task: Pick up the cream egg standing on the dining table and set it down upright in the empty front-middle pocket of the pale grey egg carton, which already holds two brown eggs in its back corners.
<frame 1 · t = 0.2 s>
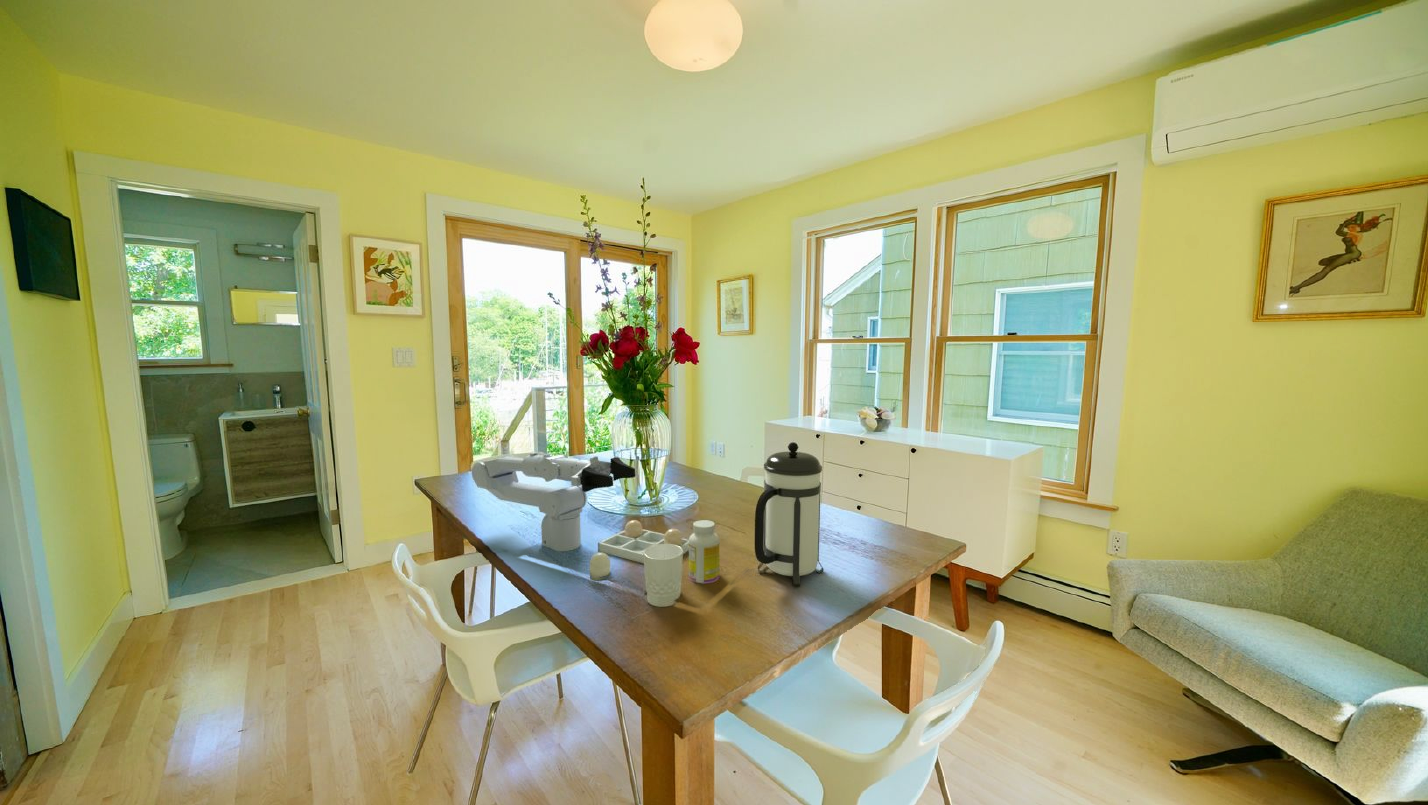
hand: (623, 477, 111), 21 cm above the table, tool horizontal, fingers open, 7 cm apart
brown egg back left: (633, 540, 126), point 1 cm above the table, touching egg carton
white cup: (663, 599, 98), on the table
supplement bottle: (704, 581, 106), on the table
cream egg: (600, 576, 108), on the table
brown egg back right: (673, 550, 120), point 1 cm above the table, touching egg carton
egg carton: (645, 553, 120), on the table
coffee press: (788, 575, 109), on the table
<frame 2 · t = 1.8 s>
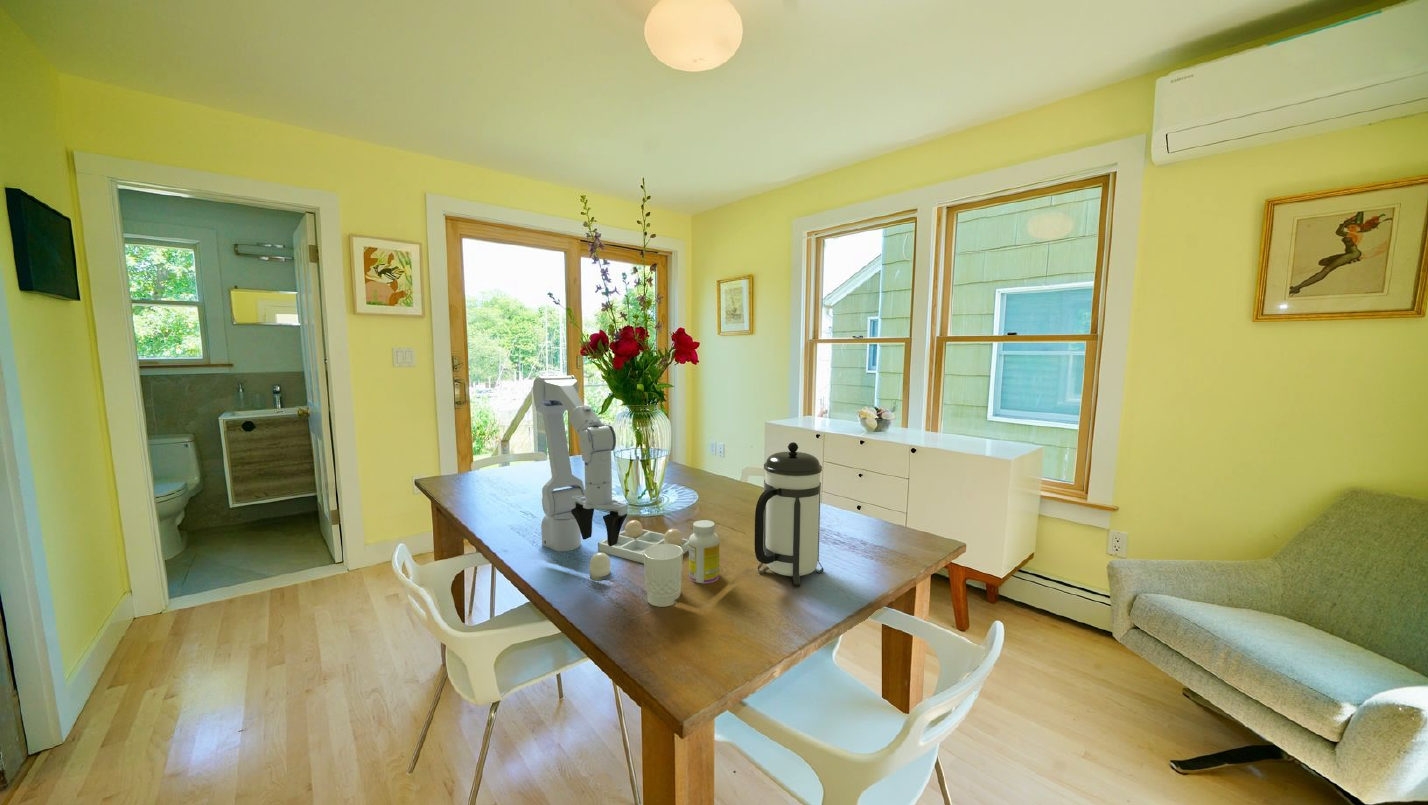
hand: (599, 541, 107), 8 cm above the table, tool pointing down, fingers open, 7 cm apart
nothing on the table moved.
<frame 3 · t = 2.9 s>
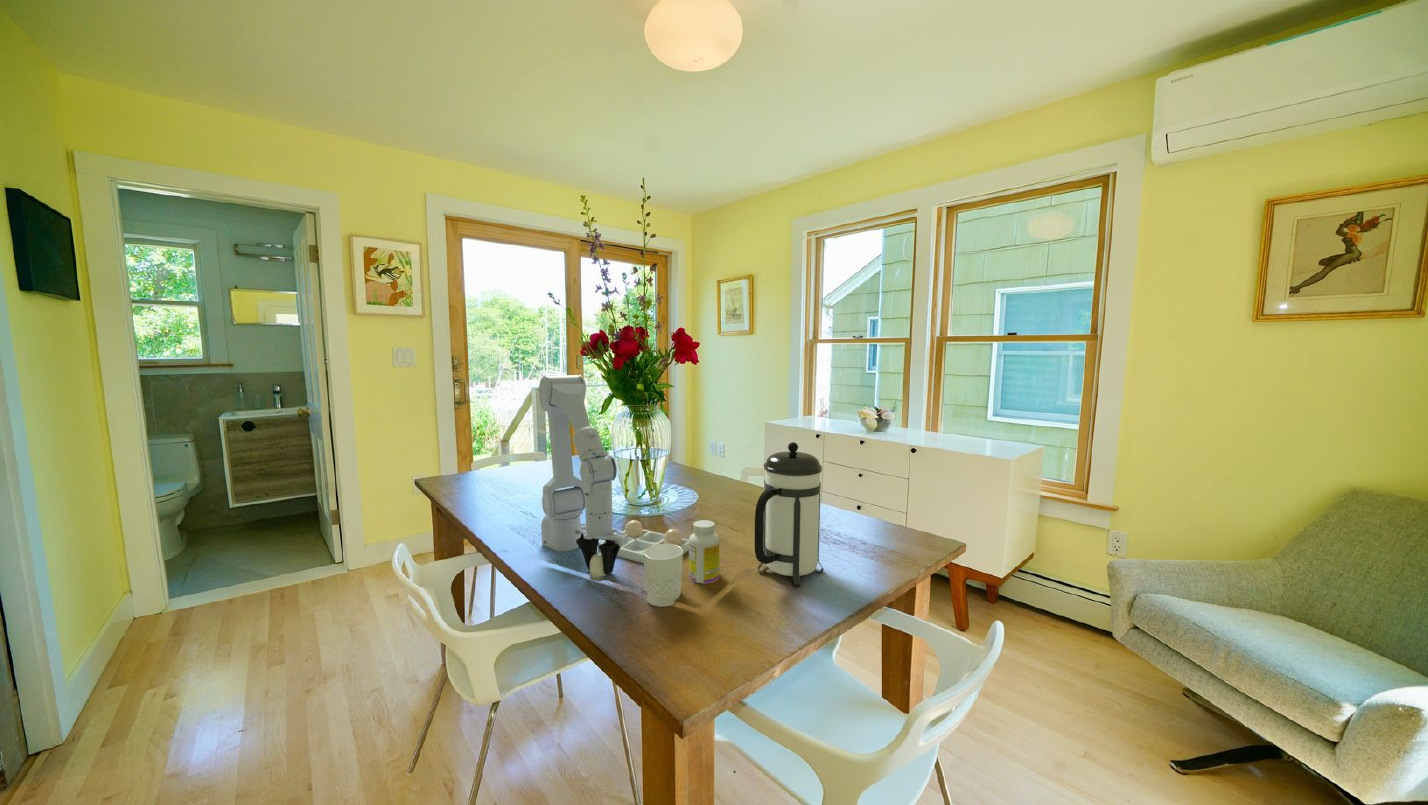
hand: (600, 570, 108), 1 cm above the table, tool pointing down, fingers closed on cream egg, 4 cm apart
cream egg: (600, 576, 108), on the table, touching gripper
everything else where it was.
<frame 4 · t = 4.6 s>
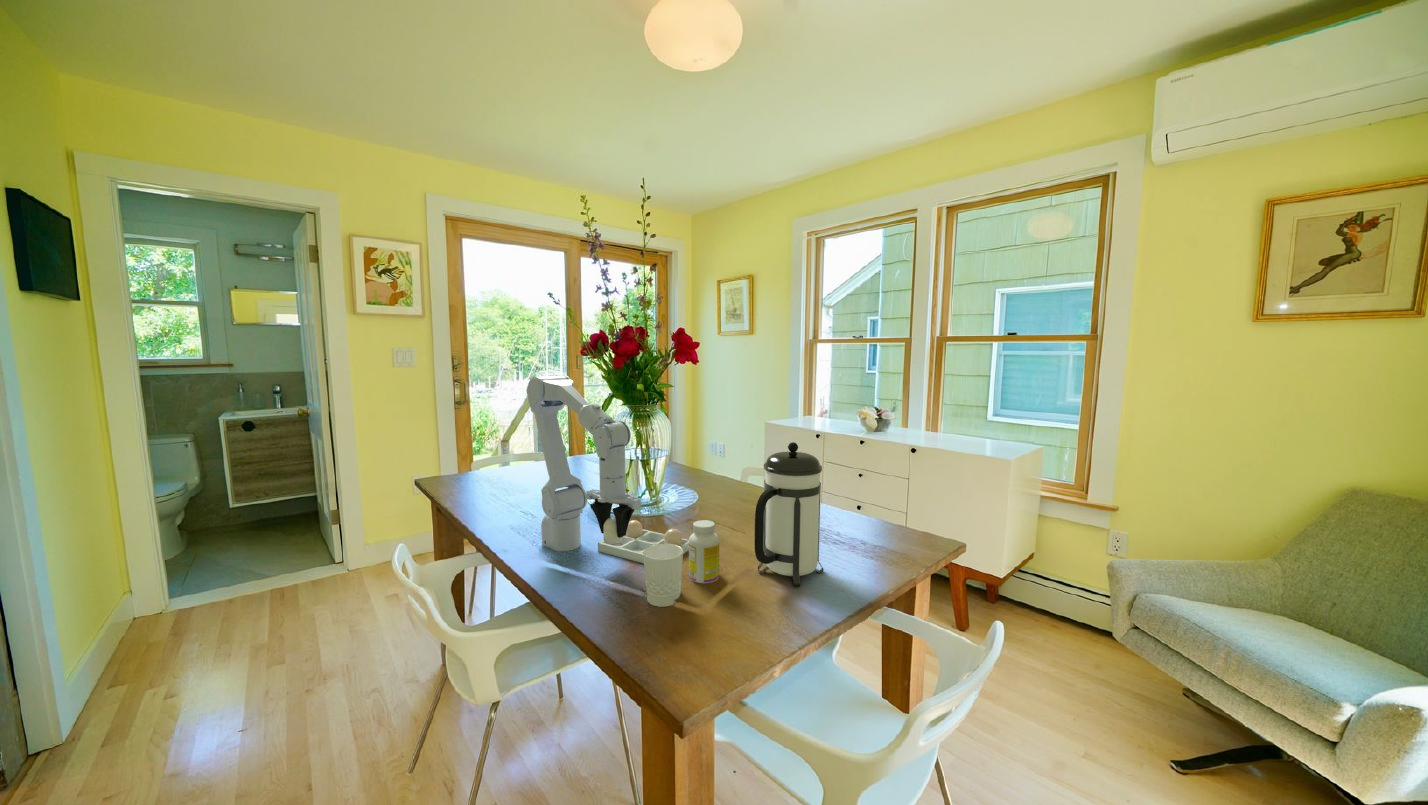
hand: (613, 534, 110), 8 cm above the table, tool pointing down, fingers closed on cream egg, 4 cm apart
cream egg: (613, 540, 110), point 7 cm above the table, touching gripper
everything else where it was.
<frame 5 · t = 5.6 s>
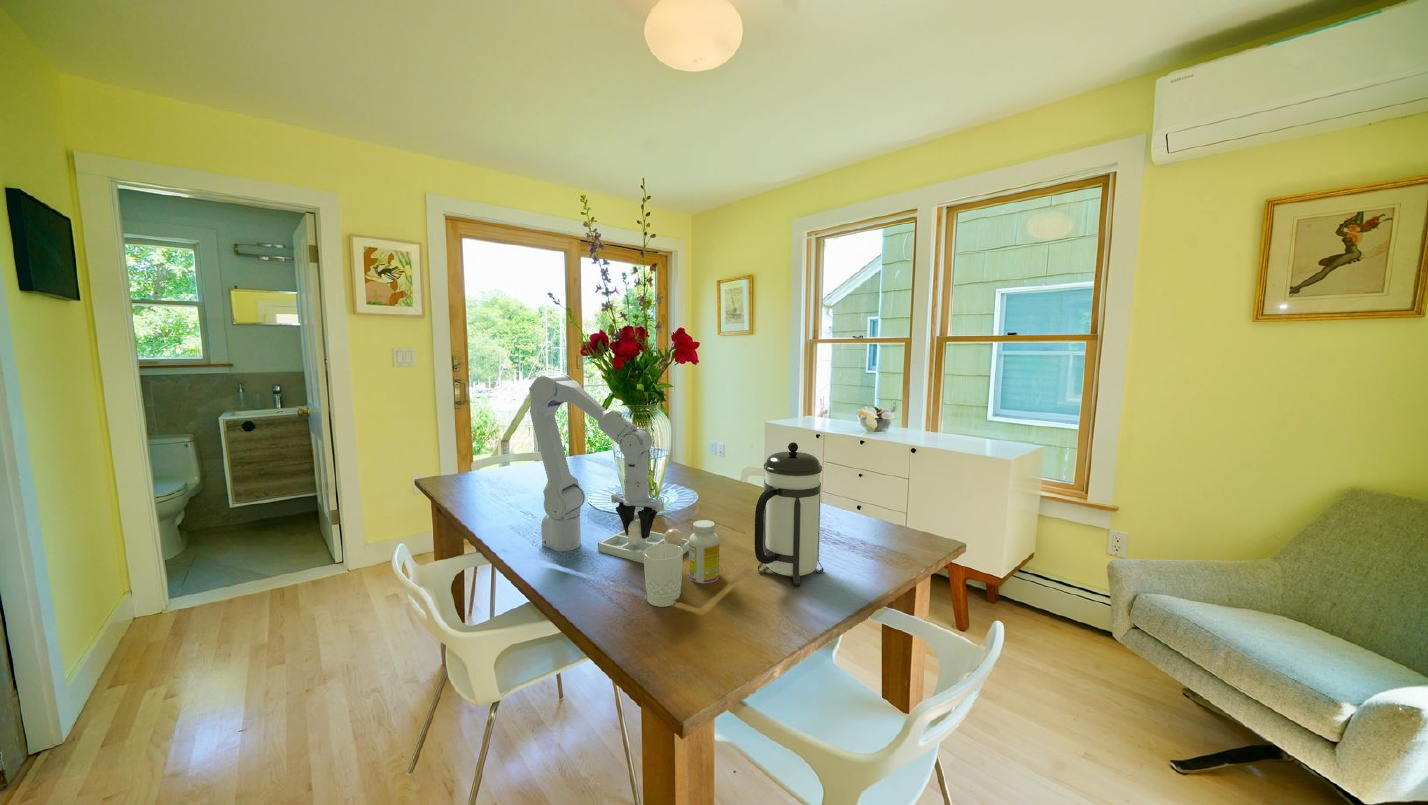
hand: (637, 535, 117), 6 cm above the table, tool pointing down, fingers closed on cream egg, 4 cm apart
cream egg: (637, 541, 117), point 4 cm above the table, touching gripper
everything else where it was.
when the fingers open (4 cm above the table, at t = 6.4 s): cream egg drops 1 cm, resting on egg carton.
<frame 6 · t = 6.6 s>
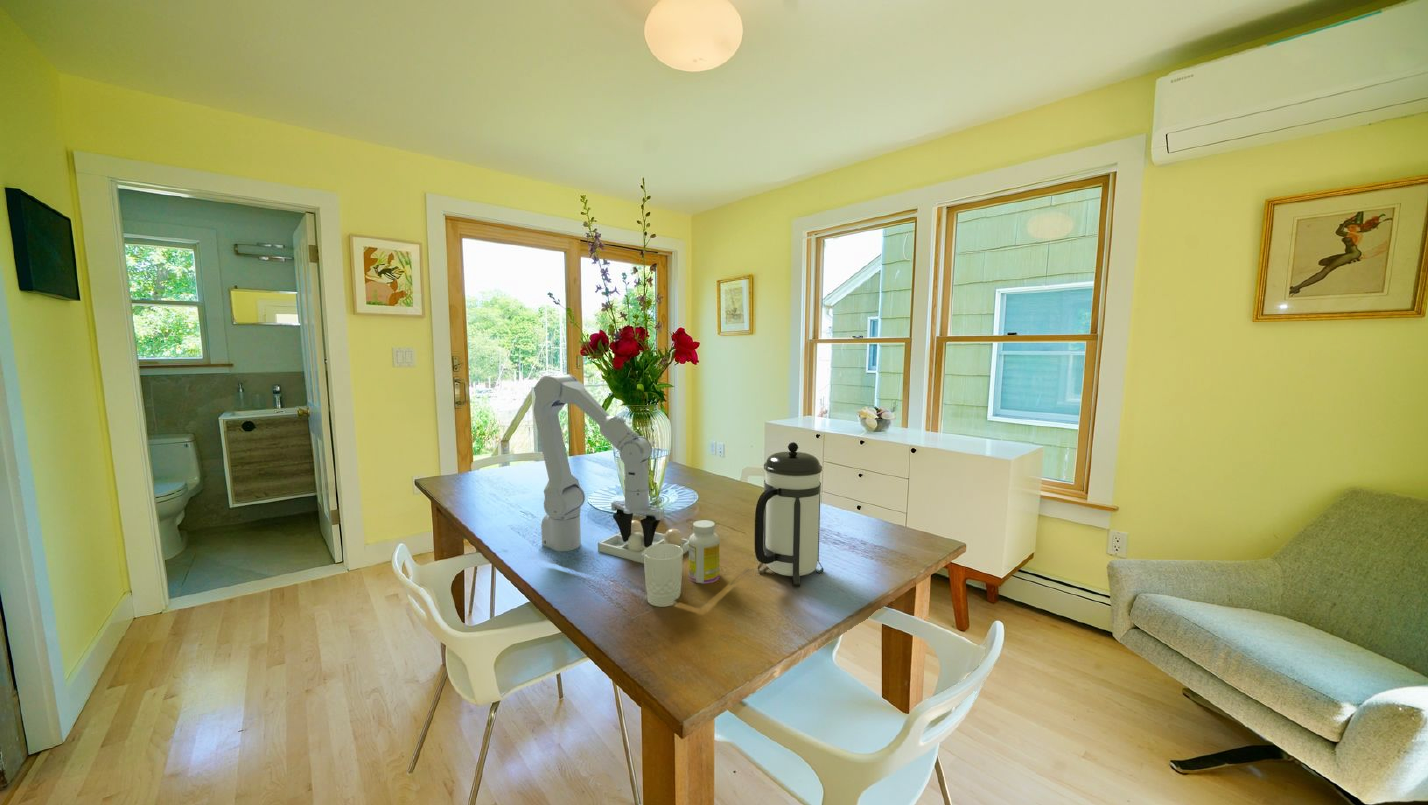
hand: (637, 543, 117), 4 cm above the table, tool pointing down, fingers open, 6 cm apart
cream egg: (637, 553, 117), point 1 cm above the table, touching egg carton
everything else where it was.
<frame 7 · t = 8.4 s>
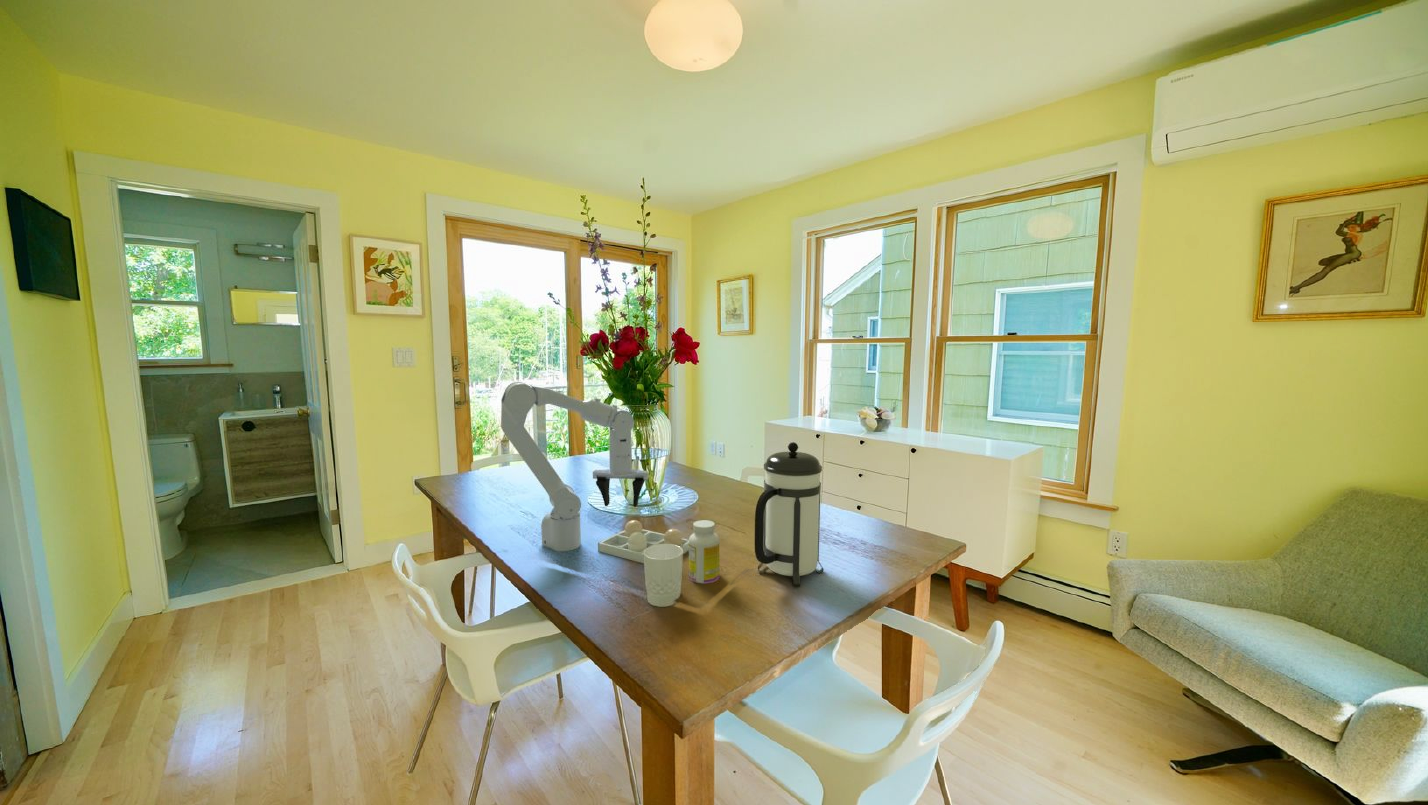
hand: (621, 505, 128), 9 cm above the table, tool pointing down, fingers open, 7 cm apart
nothing on the table moved.
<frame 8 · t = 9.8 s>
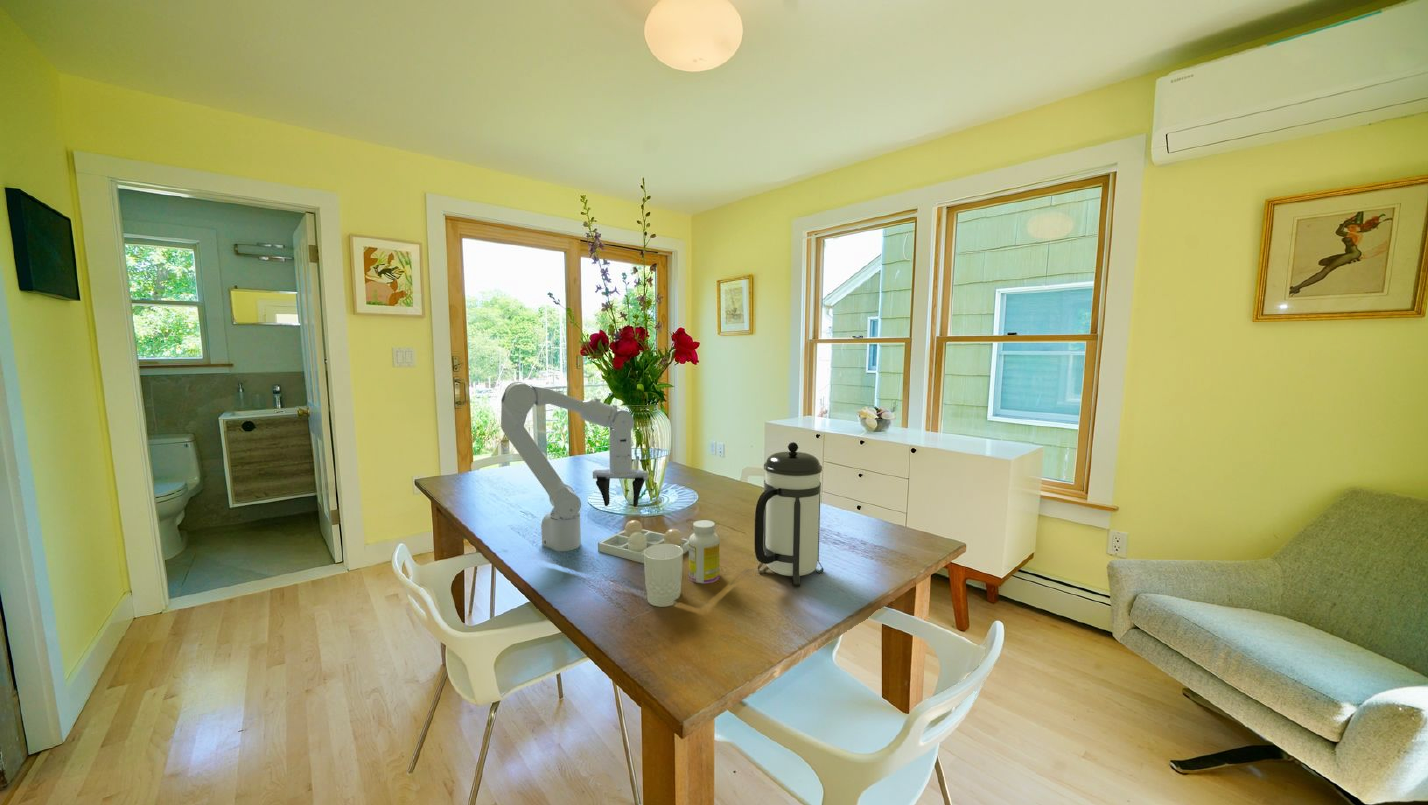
hand: (621, 505, 128), 9 cm above the table, tool pointing down, fingers open, 7 cm apart
nothing on the table moved.
at the end: cream egg 0.0 cm from the target spot on the egg carton, point 1.0 cm above the egg carton's base; cream egg tilted 0°; the gripper is holding nothing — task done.
